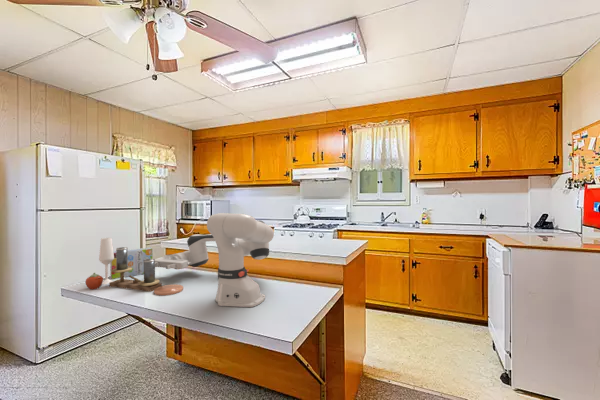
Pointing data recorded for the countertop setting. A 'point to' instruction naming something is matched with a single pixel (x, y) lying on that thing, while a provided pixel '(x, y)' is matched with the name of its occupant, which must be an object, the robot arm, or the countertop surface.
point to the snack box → (133, 262)
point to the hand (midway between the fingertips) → (159, 266)
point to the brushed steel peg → (149, 270)
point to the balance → (133, 282)
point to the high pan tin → (122, 258)
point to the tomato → (94, 281)
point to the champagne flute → (106, 256)
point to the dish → (168, 289)
